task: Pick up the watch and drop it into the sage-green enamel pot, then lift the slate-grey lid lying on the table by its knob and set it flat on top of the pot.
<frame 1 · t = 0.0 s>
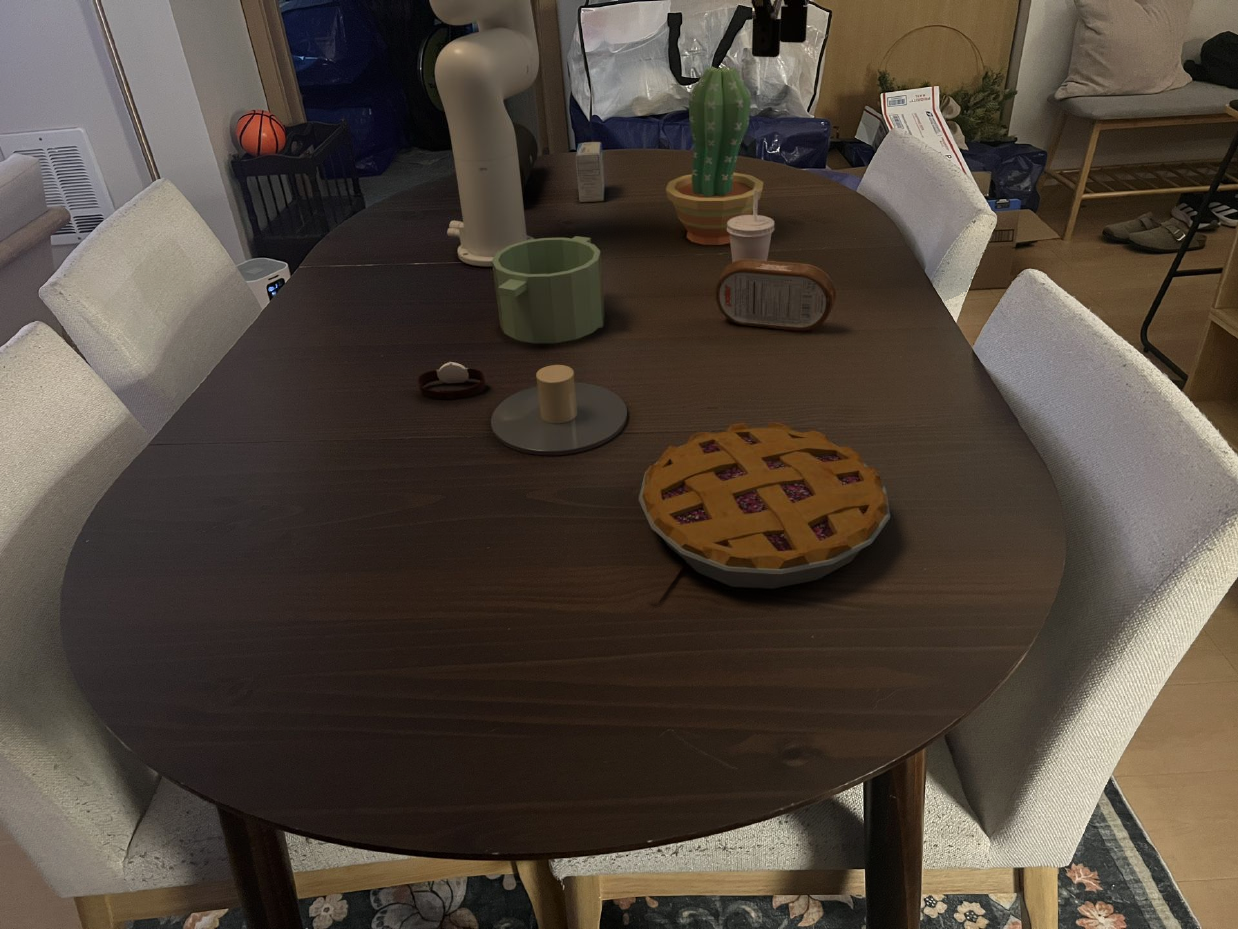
hand: (779, 49, 110), 31 cm above the table, tool pointing down, fingers open, 9 cm apart
lid: (559, 419, 100), point 1 cm above the table
smoothie: (748, 291, 129), on the table
pie: (760, 523, 84), on the table
potted cactus: (714, 236, 148), on the table
portable speaker: (508, 191, 174), on the table
pot: (552, 324, 122), on the table
tin: (772, 327, 119), on the table
watch: (453, 395, 107), on the table
medicine box: (592, 197, 169), on the table
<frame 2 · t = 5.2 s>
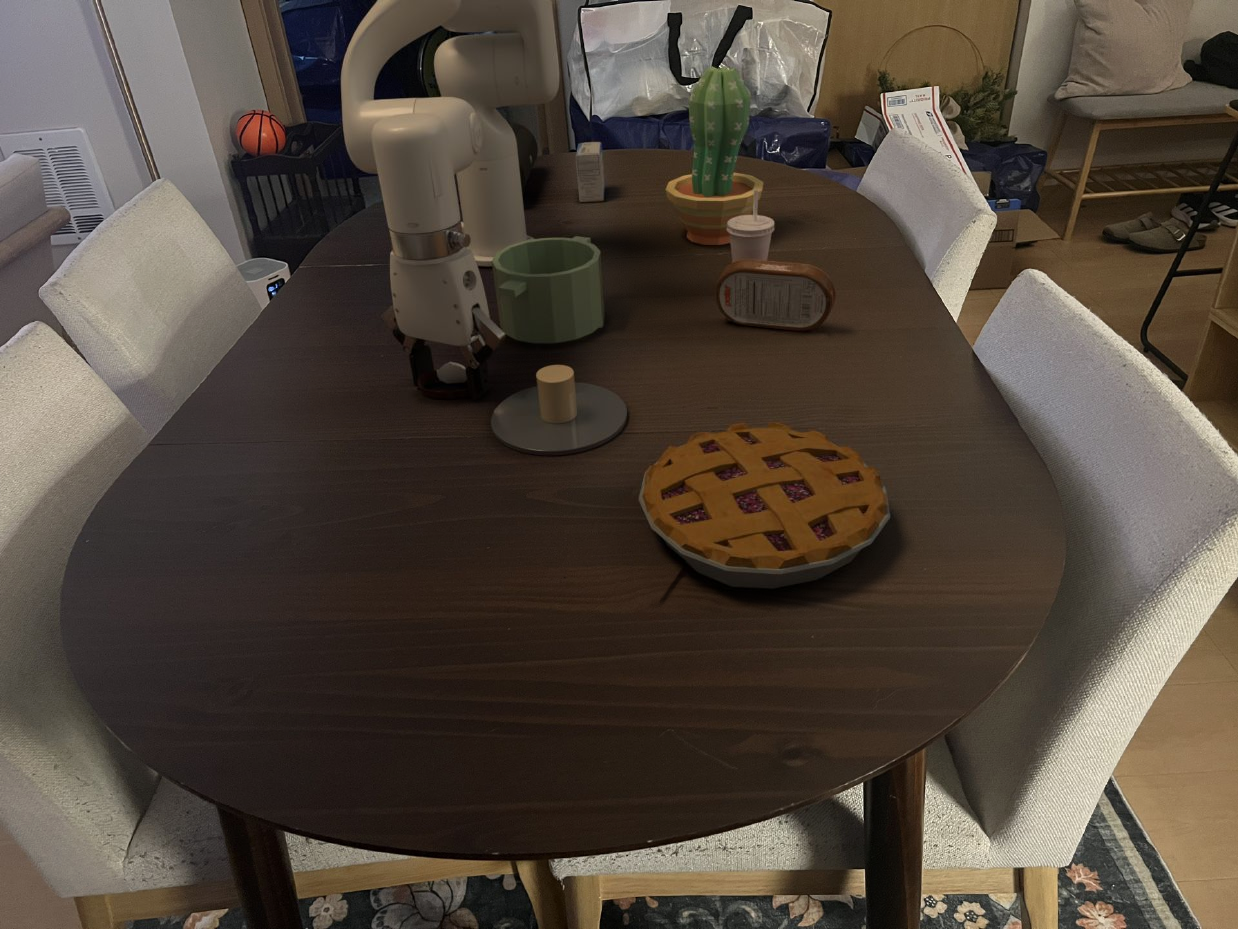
hand: (452, 386, 107), 1 cm above the table, tool pointing down, fingers closed on watch, 7 cm apart
watch: (453, 395, 107), on the table, touching gripper
everything else where it was.
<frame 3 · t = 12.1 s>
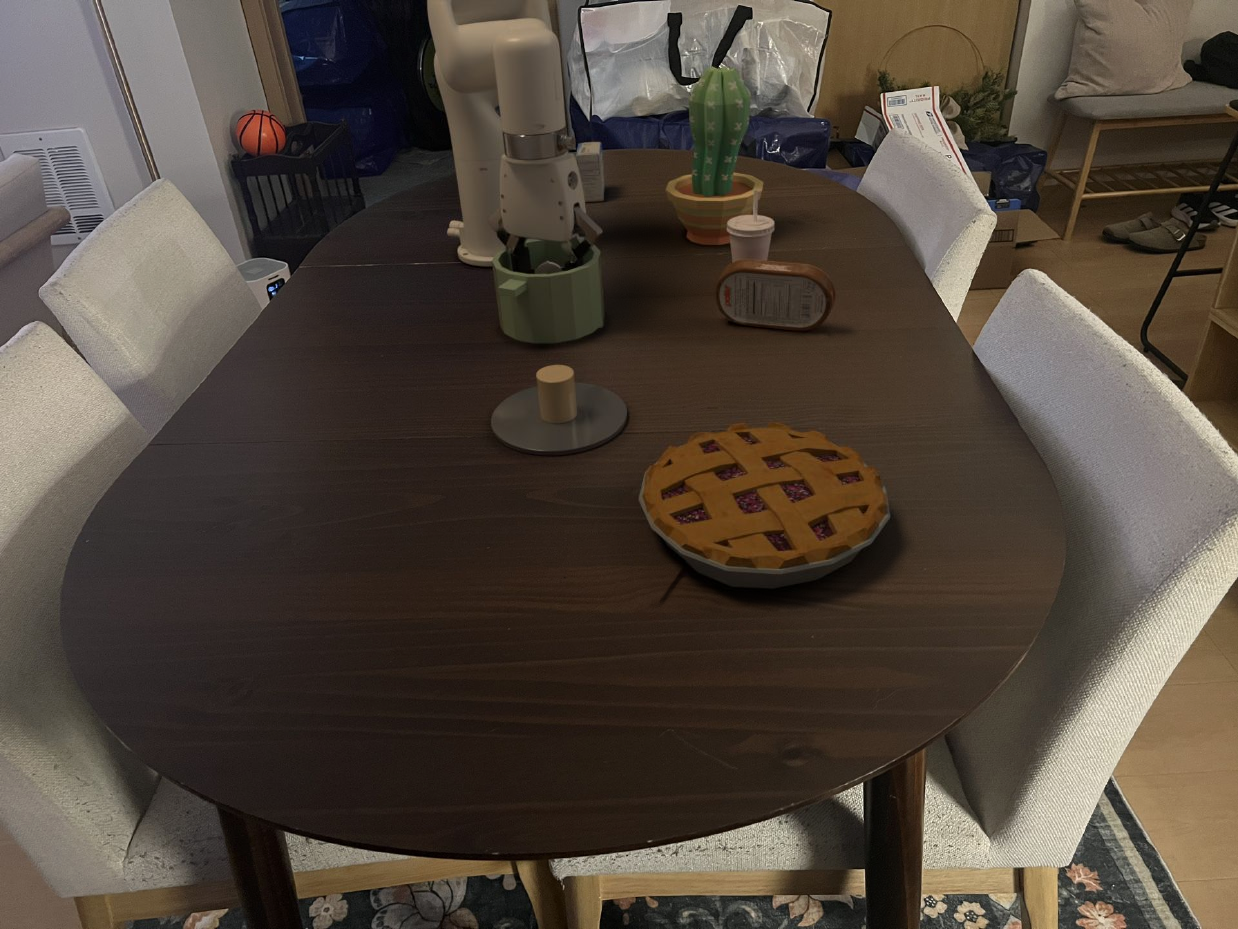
hand: (548, 283, 119), 6 cm above the table, tool pointing down, fingers closed on watch, 7 cm apart
watch: (549, 292, 120), point 5 cm above the table, touching gripper
everything else where it was.
when the fingers open (6 cm above the table, at t = 12.5 s): watch drops 4 cm, resting on pot.
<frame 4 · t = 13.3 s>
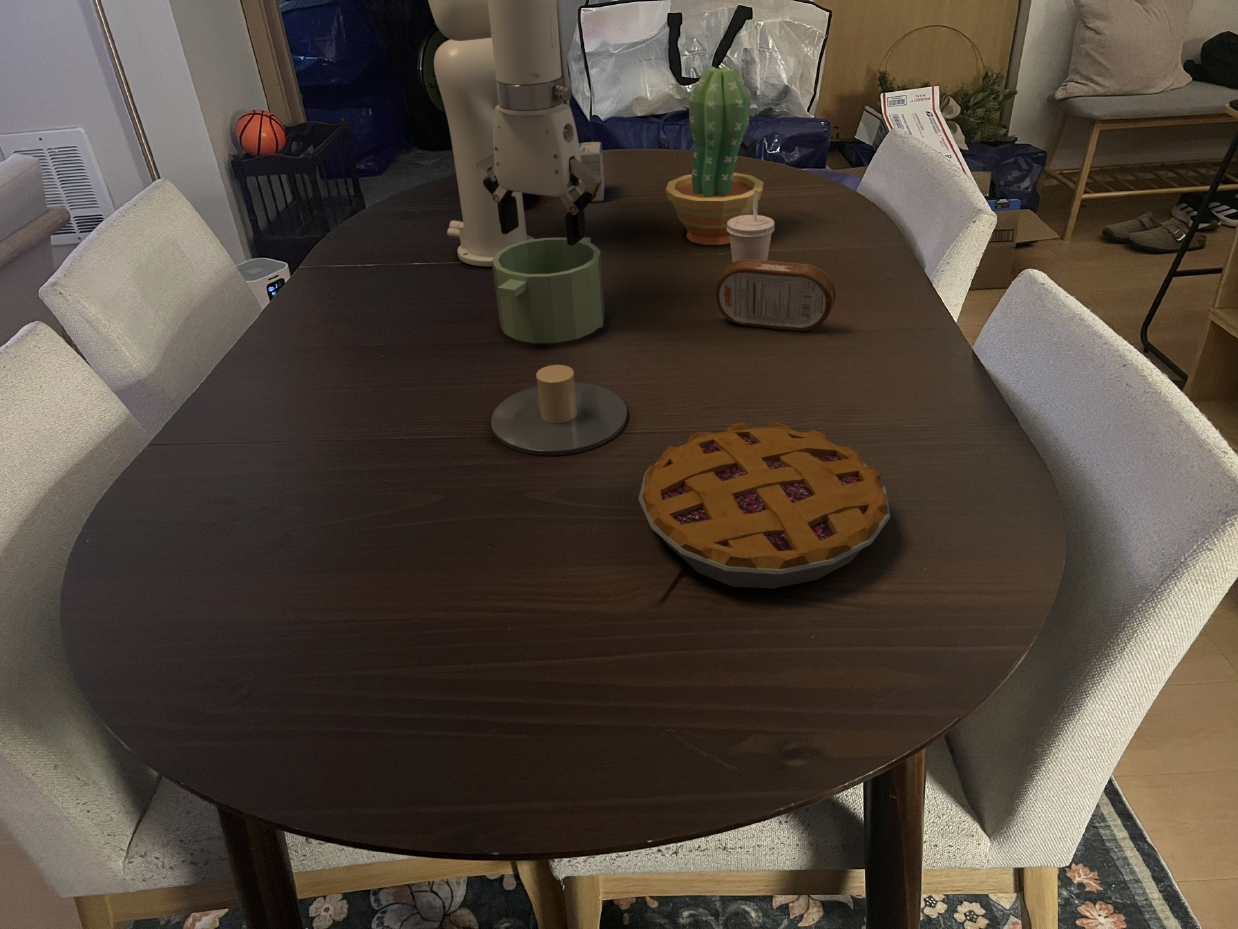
hand: (542, 235, 116), 12 cm above the table, tool pointing down, fingers open, 9 cm apart
watch: (553, 321, 122), resting on pot
everything else where it was.
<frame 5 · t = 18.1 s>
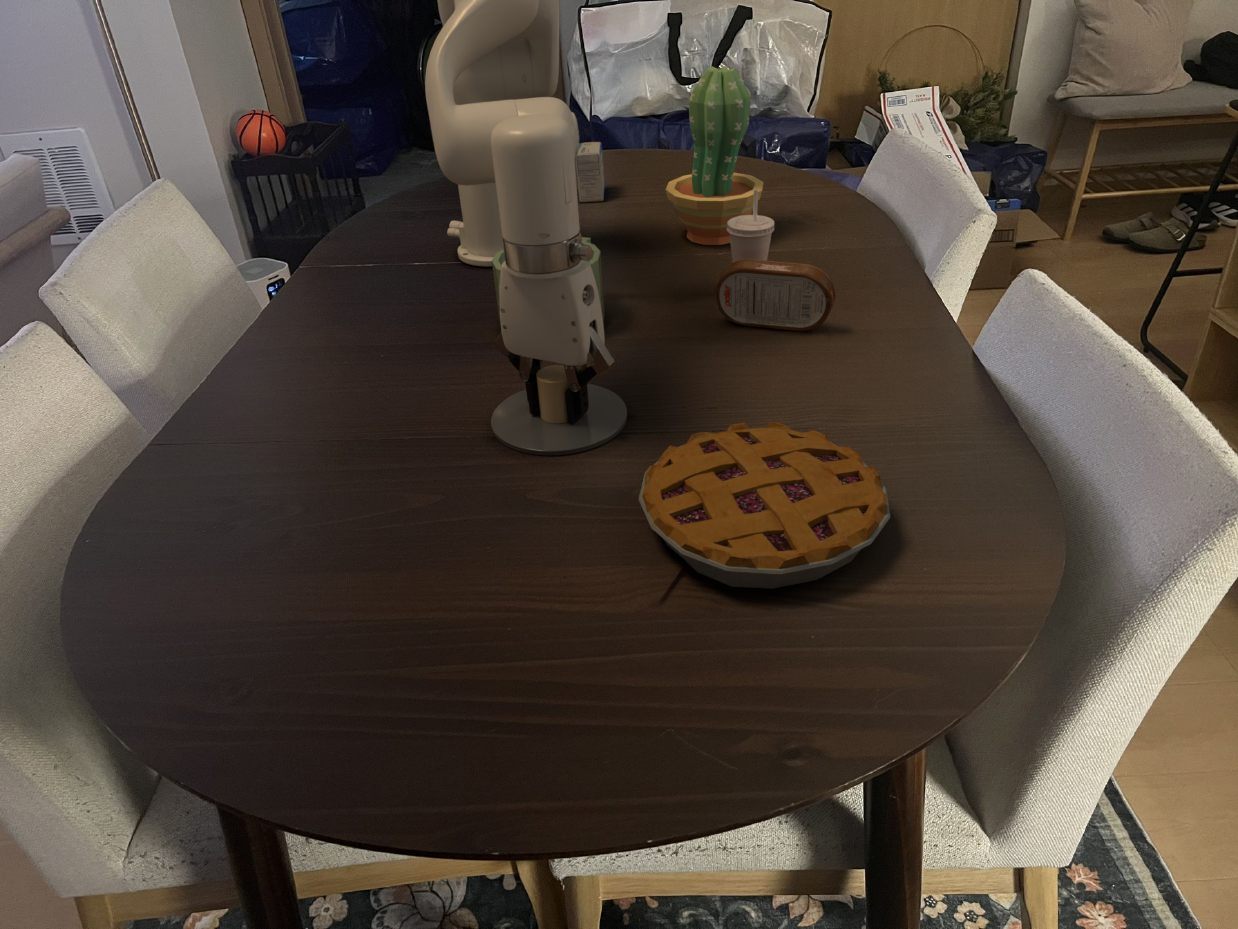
hand: (558, 411, 100), 2 cm above the table, tool pointing down, fingers closed on lid, 4 cm apart
lid: (559, 419, 100), point 1 cm above the table, touching gripper
everything else where it was.
when the fingers open (10 cm above the table, at t = 27.3 s): lid stays where it is, resting on pot.
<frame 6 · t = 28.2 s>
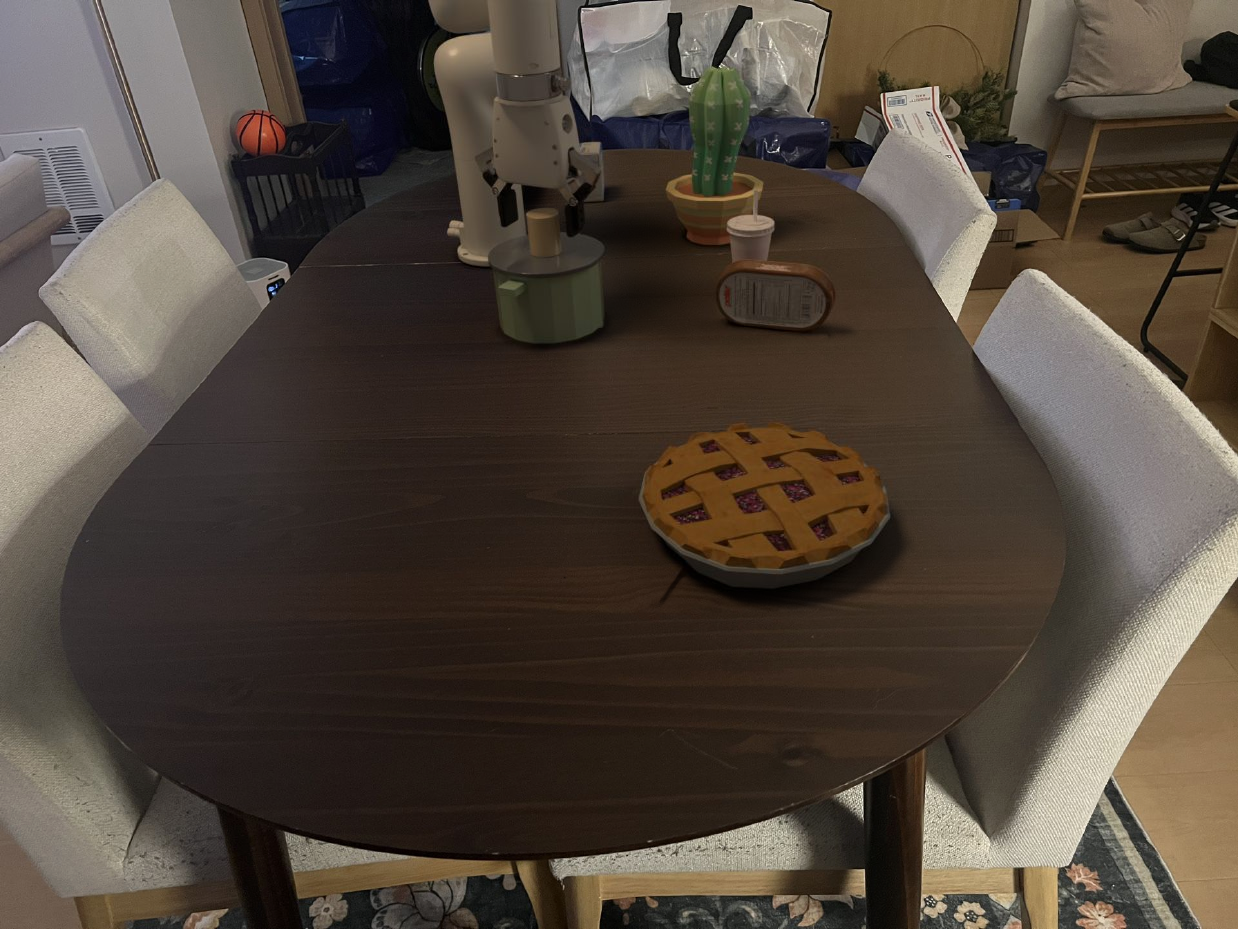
hand: (542, 228, 116), 13 cm above the table, tool pointing down, fingers open, 9 cm apart
lid: (546, 256, 117), point 9 cm above the table, touching pot
everything else where it was.
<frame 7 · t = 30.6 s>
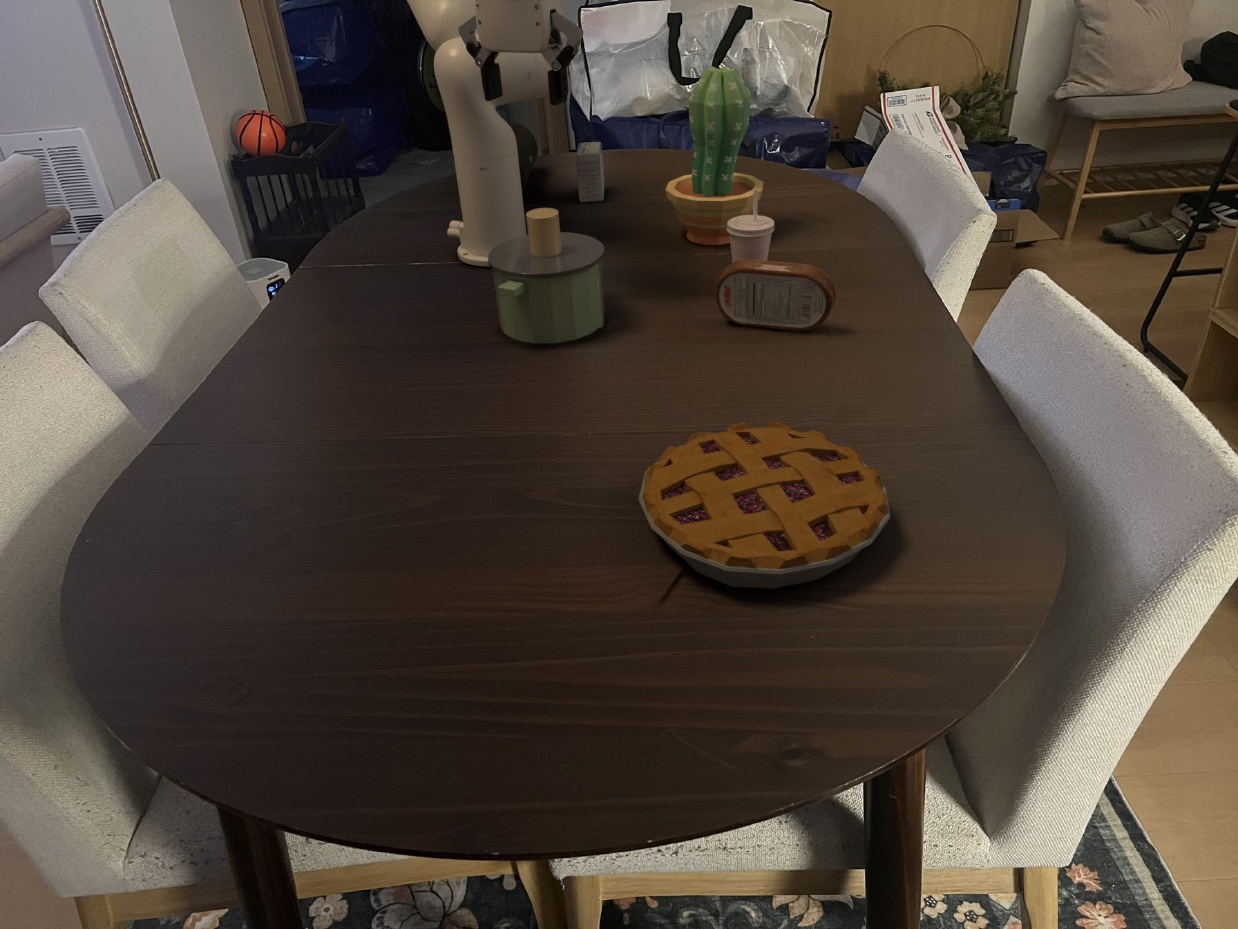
hand: (526, 100, 116), 26 cm above the table, tool pointing down, fingers open, 9 cm apart
nothing on the table moved.
at the end: watch inside the target area in the pot (0.2 cm from its centre), point 0.3 cm above the pot's base; lid 0.1 cm off-centre on the pot, point 9.5 cm above the pot's base; lid tilted 0° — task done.
